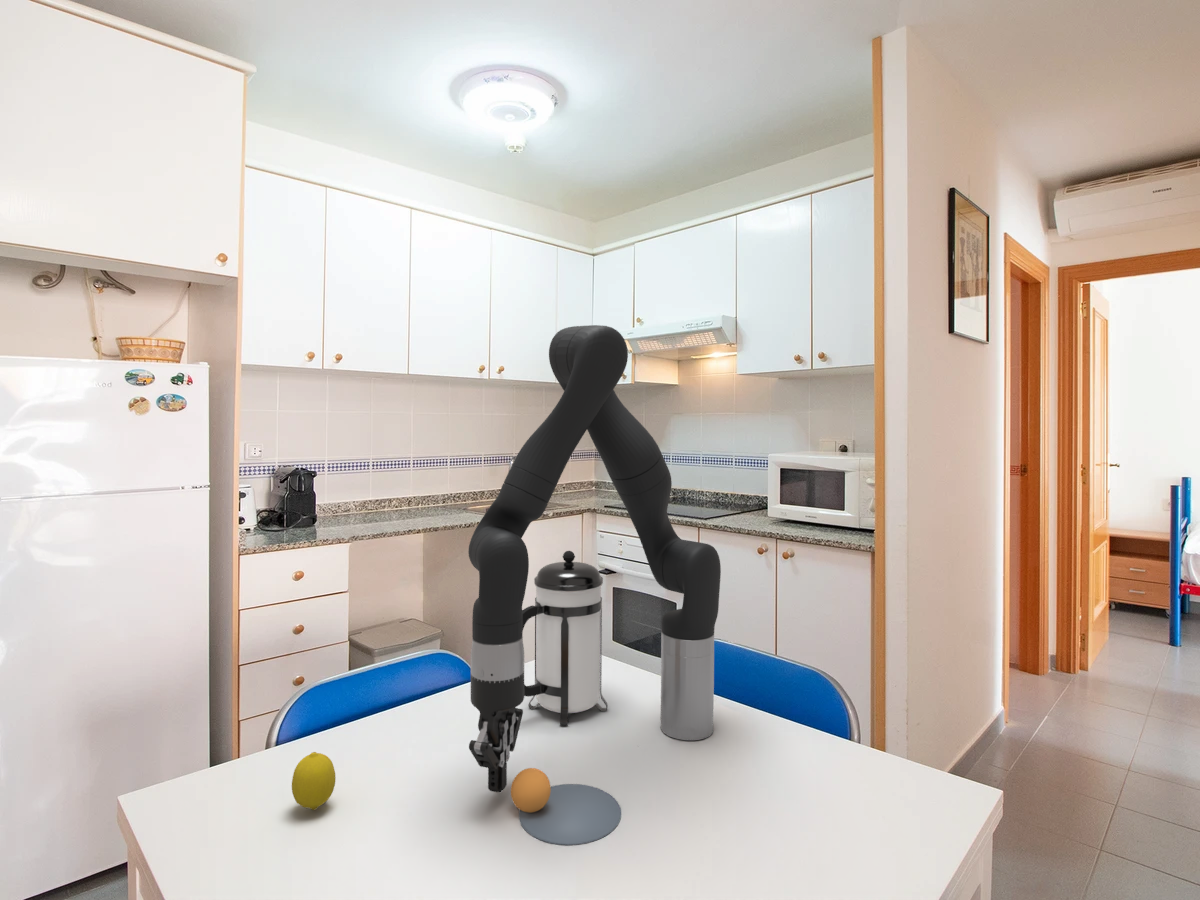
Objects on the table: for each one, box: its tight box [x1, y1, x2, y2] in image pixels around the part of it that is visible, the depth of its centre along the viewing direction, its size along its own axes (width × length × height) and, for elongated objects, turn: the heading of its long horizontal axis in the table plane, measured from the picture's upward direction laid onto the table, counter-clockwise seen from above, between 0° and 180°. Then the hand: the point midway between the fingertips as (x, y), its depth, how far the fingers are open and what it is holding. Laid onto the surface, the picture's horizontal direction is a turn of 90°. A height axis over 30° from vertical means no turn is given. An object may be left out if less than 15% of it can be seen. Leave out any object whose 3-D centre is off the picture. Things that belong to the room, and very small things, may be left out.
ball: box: [510, 767, 551, 813], centre depth 91 cm, size 6×6×6 cm
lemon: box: [291, 751, 336, 811], centre depth 91 cm, size 6×6×8 cm
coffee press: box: [522, 550, 609, 727], centre depth 122 cm, size 17×16×30 cm
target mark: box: [518, 783, 622, 846], centre depth 91 cm, size 14×14×1 cm
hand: (497, 788), depth 94 cm, fingers closed
